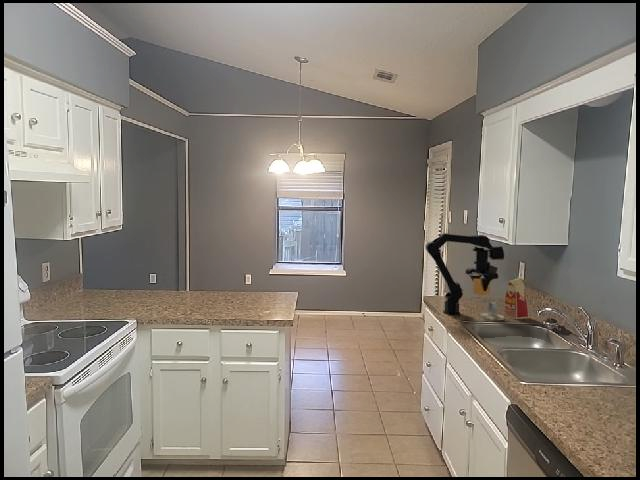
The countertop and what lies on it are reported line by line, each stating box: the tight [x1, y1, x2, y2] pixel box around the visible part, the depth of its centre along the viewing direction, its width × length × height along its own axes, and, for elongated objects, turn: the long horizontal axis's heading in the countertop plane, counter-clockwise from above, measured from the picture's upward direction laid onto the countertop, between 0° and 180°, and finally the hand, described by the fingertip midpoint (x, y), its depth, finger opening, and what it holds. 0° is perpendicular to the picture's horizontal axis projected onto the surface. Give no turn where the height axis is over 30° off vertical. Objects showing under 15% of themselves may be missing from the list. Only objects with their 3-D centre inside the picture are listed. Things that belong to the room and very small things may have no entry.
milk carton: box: [503, 276, 530, 320], centre depth 235 cm, size 9×9×20 cm
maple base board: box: [480, 312, 506, 322], centre depth 234 cm, size 7×9×1 cm
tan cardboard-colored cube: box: [472, 277, 491, 296], centre depth 242 cm, size 6×6×8 cm
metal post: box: [488, 301, 498, 316], centre depth 234 cm, size 3×3×6 cm
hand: (481, 290), depth 242 cm, fingers closed on tan cardboard-colored cube, 6 cm apart
